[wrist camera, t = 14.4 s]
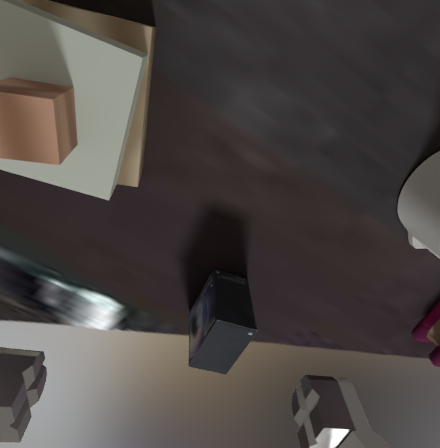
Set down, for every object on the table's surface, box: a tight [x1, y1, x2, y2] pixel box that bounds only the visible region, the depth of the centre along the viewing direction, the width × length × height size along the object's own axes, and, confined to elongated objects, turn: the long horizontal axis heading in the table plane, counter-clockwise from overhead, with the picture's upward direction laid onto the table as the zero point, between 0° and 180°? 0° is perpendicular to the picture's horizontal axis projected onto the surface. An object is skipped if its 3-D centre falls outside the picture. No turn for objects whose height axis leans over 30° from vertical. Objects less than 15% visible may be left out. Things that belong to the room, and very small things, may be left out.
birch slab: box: [19, 0, 156, 187], centre depth 33 cm, size 16×16×4 cm
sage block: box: [0, 0, 148, 200], centre depth 29 cm, size 14×14×4 cm
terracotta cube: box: [0, 77, 78, 165], centre depth 26 cm, size 5×5×5 cm
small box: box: [189, 269, 258, 374], centre depth 48 cm, size 11×6×10 cm, turn 156°
